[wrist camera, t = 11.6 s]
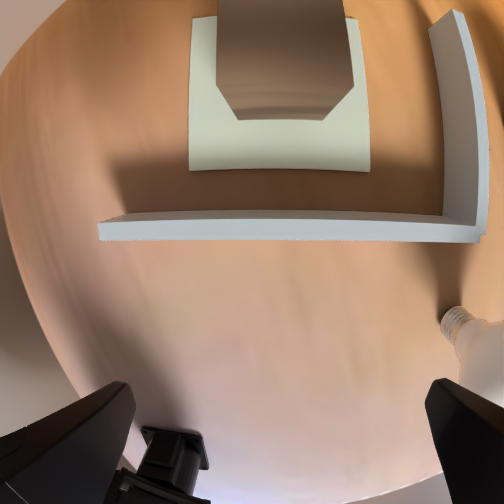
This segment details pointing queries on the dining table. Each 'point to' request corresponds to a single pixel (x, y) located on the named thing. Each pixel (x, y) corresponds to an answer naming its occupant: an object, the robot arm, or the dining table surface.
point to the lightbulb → (477, 352)
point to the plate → (273, 121)
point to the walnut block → (282, 58)
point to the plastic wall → (359, 222)
